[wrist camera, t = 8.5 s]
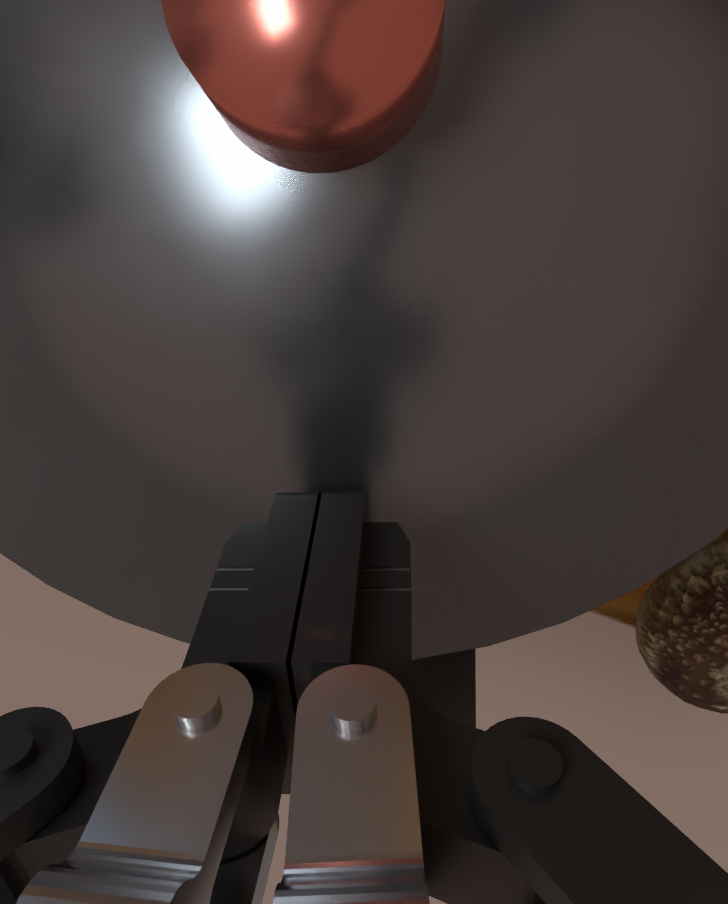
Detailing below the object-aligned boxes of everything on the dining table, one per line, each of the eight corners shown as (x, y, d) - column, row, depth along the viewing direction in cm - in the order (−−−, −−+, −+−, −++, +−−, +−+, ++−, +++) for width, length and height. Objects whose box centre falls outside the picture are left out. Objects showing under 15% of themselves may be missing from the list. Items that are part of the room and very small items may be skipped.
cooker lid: (967, -631, 11) (1191, -1052, 8) (906, 779, 13) (1070, 905, 9) (-242, -472, 13) (-464, -765, 9) (-152, 749, 14) (-315, 849, 11)
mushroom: (621, 346, 33) (744, 550, 21) (778, 395, 34) (987, 618, 22) (540, 492, 39) (600, 727, 26) (679, 531, 39) (802, 776, 27)
